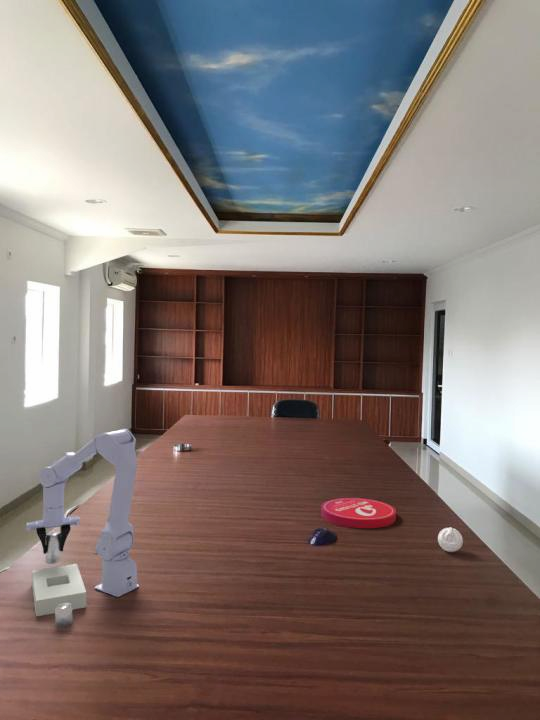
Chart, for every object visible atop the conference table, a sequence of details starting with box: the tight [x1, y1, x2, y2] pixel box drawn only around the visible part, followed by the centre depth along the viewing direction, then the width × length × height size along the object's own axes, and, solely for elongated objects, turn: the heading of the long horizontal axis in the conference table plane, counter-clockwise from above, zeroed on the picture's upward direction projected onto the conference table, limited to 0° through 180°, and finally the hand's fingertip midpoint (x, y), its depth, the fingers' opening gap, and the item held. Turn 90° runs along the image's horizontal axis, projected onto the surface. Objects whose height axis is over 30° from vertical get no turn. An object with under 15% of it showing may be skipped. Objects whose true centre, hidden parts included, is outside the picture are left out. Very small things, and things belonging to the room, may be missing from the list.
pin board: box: [31, 563, 87, 617], centre depth 147 cm, size 20×12×4 cm, turn 26°
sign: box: [320, 497, 397, 529], centre depth 222 cm, size 30×4×30 cm
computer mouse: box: [307, 527, 338, 547], centre depth 195 cm, size 9×15×4 cm, turn 140°
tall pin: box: [45, 531, 61, 565], centre depth 162 cm, size 4×4×8 cm
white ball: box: [437, 527, 464, 553], centre depth 185 cm, size 8×8×8 cm
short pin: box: [54, 603, 74, 628], centre depth 133 cm, size 4×4×4 cm
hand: (53, 551), depth 162 cm, fingers closed on tall pin, 4 cm apart
